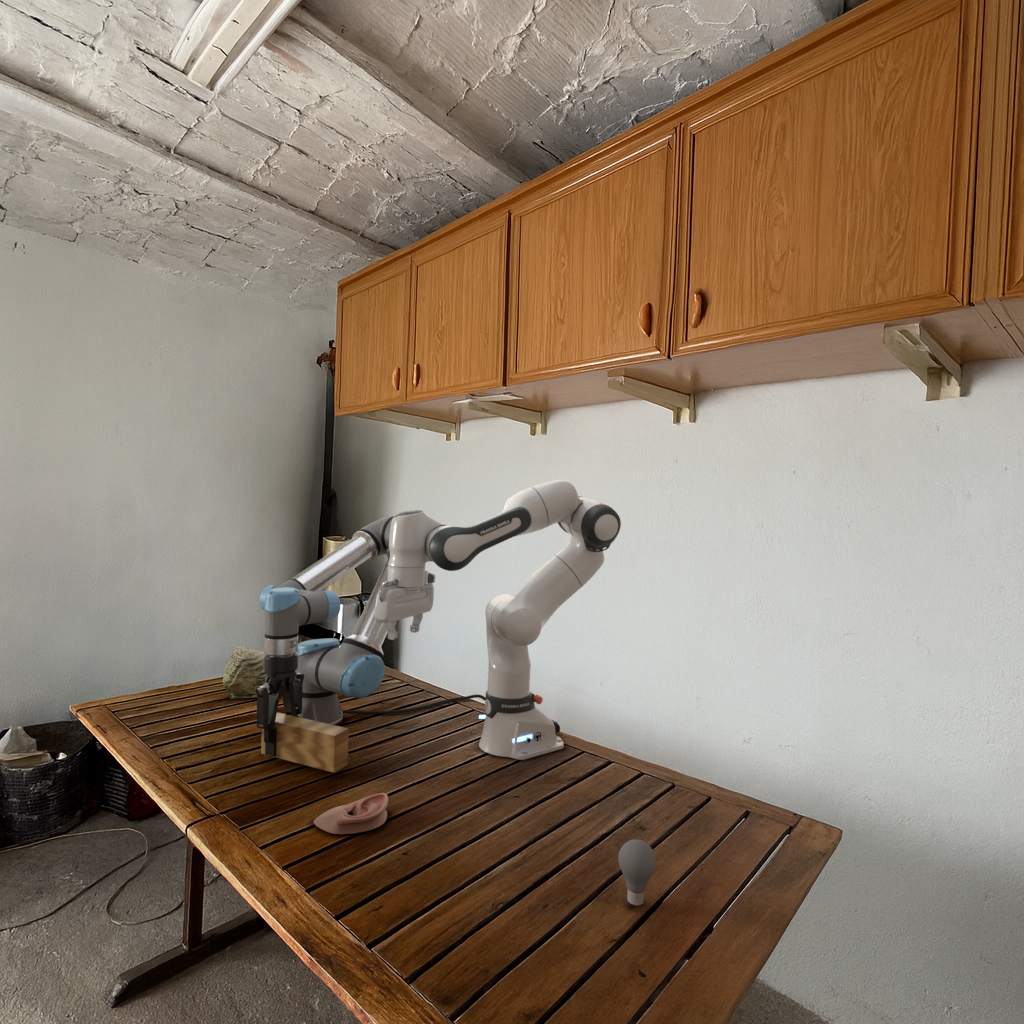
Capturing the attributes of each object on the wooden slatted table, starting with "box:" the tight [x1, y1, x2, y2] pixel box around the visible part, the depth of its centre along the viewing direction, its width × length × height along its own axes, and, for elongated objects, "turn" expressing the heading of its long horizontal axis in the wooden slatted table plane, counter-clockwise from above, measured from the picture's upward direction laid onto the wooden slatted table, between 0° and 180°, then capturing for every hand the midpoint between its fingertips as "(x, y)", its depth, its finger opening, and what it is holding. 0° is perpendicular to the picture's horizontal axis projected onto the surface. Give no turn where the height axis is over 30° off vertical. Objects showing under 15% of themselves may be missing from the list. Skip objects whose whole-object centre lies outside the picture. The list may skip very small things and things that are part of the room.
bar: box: [260, 712, 350, 774], centre depth 148 cm, size 22×5×8 cm, turn 66°
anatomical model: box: [313, 792, 389, 835], centre depth 124 cm, size 13×4×12 cm
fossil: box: [222, 646, 276, 699], centre depth 198 cm, size 9×18×15 cm, turn 132°
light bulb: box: [618, 838, 657, 906], centre depth 102 cm, size 6×6×10 cm
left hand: (279, 750), depth 151 cm, fingers closed on bar, 5 cm apart
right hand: (404, 635), depth 152 cm, fingers open, 8 cm apart
